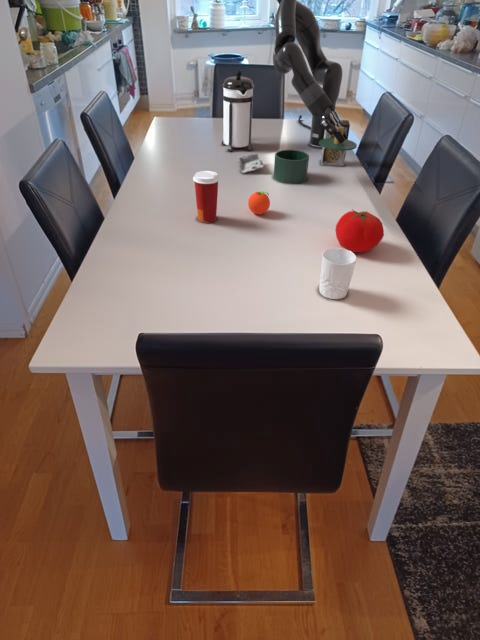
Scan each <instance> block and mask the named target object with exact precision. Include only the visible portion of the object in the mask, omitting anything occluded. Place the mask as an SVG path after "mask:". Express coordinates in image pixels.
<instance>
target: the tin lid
mask: <svg viewBox="0 0 480 640" xmlns="http://www.w3.org/2000/svg"><path fill="white" fill-rule="evenodd" d="M337 128H338V129H339V131H340V132H341V134H342V135H343V133H344V127H342V126H337ZM319 145H320V146H322V147H324V148H327V149H330V150H336V151H346V152H347V151H352V150H355V149H357V148H358V147H357V146H358V145H357V143H356V142H355V141H353V140H350V139H348V140H347V139H345V141H344V142H343V143H341V144H340V143H339V142H338V140H337V139H336V137H335V138H326V139H322V140H320V141H319Z"/></svg>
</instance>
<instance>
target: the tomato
mask: <svg viewBox="0 0 480 640" xmlns="http://www.w3.org/2000/svg"><path fill="white" fill-rule="evenodd" d="M384 236H385V231H384V225H383V222H382V220H380V218H379V217H377V216H376V215H374V214H372V213H370V212H368V210H366V211H359V212H358V211H356V210H354V209H353V208H351V210H349V211H348V212H346V213H344V214H343V215H342V216H341V217H340V218H339V219H338V221H337V223H336V224H335V237H336V240H337V241H338V243H339V245H340V246H341V248H342V249H346V250H349V251H351V252H353V253H366V252H370V251H371V250H372V249H375V248H376V247H377V246H378V245H379V243H380V242H381V241H382V240H383V238H384Z"/></svg>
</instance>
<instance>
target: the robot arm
mask: <svg viewBox="0 0 480 640" xmlns="http://www.w3.org/2000/svg"><path fill="white" fill-rule="evenodd" d="M276 1H277V3H278V6H277V7H278V8H277V9H276V13H275V18H274V30H275V41H274V45H273V53H272V64H273V67H274V69H275V72H277V73H278V74H280V75H286V74H289V73H290V72H292V73H293V75H292V78H291V81H290V82H291V85H292V87H293V88H294V90H295V91H296V92H297V94H298V95H299V97H300V99H301V102H303V104H304V105H305V107H306V108H307V110H308V111H309V113H310V114H311V115H312V117H311V126H310V125H308V124H305V123H303V122H302V121H301V119H302V118H303V116H302V114H300V115H299V116H298V124H299V125H300V126H303V127H305V128H307V129H309V130H310V134H309V142H308V145H309V146H310V147H313V148H317V149H323V147H322V146H320V145H319V141H320V140H322V139H324V132H325V130H326V131H327V132H328V133H329V134H330V135H333V136H335V137H336V139H337V140H338V142H339V143H340V144H341V143H343V142H344V141H345V139H347V135H346V134H345V132H344V133H343V135H342V134H341V132H340V131H339V129H338V128H337V126H342V123H341V121H340V120H341V119H340V117H339V115H338V113H337V112H336V104H337V101H338V99H339V95H340V92H341V86H342V80H343V68H342V65H341V64H340V63H339V62H336V61H332V60H329V59H328V58H327V57H326V56H325V53H324V51H323V49H322V46H321V29H320V25H319V23H318V20H317V18H316V16H315V13H313V11H312V10H311V8H309V7H308V6H306V5H305V4H303V3H301V2H300V1H298V0H276ZM295 41H297V43H298V44H299V45H298V44H297V43H295ZM308 66H309V67H308ZM309 69H310V70H309ZM332 129H333V130H332Z"/></svg>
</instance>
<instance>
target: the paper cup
mask: <svg viewBox="0 0 480 640" xmlns="http://www.w3.org/2000/svg"><path fill="white" fill-rule="evenodd" d="M192 180H193V182H194V189H195V190H194V191H195V201H196V212H197V219H198V221H199V222H202V223H205V224H208V223H210V224H211V223H213V222H215V221H216V220H217V209H218V192H219V181H220V177H219V175H218V173H217V172H215V171H211V170H201V171H197V172H195V173H194V175H193V177H192Z"/></svg>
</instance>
